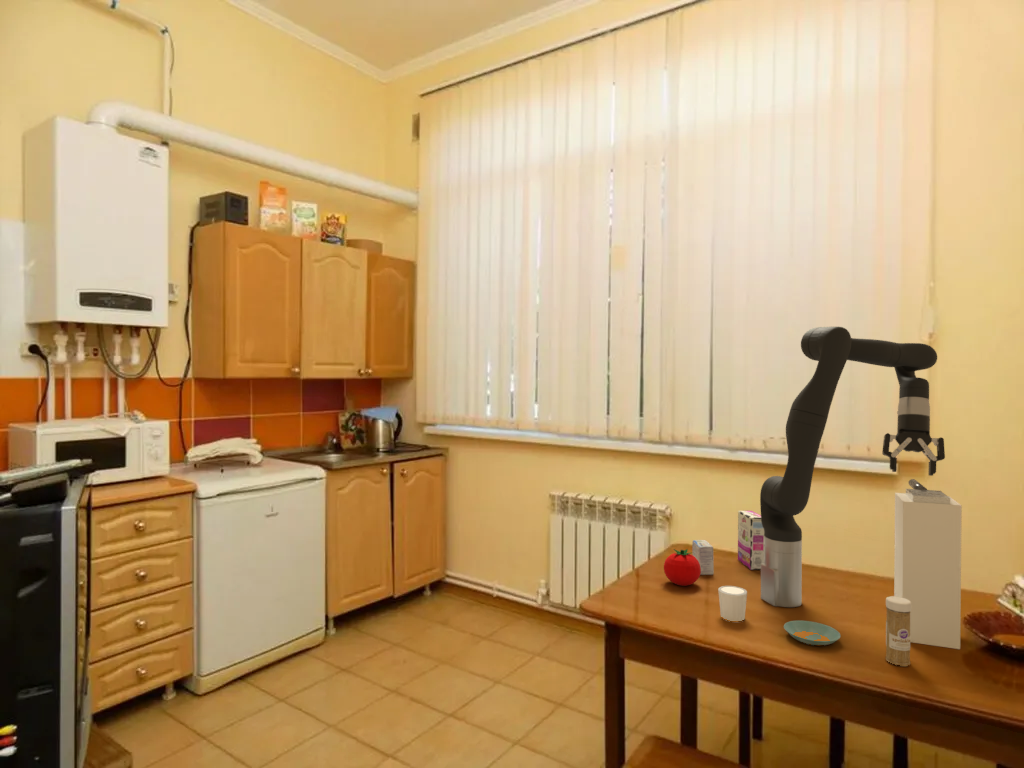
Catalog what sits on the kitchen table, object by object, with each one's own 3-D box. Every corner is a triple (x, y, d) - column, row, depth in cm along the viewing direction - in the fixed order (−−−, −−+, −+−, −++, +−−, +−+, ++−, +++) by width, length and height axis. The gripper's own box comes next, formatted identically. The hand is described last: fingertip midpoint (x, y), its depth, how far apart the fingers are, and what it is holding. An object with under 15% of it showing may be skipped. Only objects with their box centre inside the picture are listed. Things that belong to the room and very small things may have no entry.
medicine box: (713, 575, 188) (713, 546, 187) (699, 575, 188) (699, 546, 188) (706, 567, 195) (706, 539, 195) (692, 566, 196) (692, 539, 195)
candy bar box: (766, 570, 192) (766, 517, 191) (750, 570, 192) (750, 518, 191) (752, 559, 203) (752, 509, 202) (737, 559, 203) (737, 510, 202)
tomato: (657, 585, 179) (657, 550, 179) (673, 576, 187) (673, 543, 187) (691, 593, 172) (691, 557, 172) (706, 583, 180) (707, 549, 180)
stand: (960, 649, 137) (961, 505, 136) (902, 640, 141) (903, 501, 141) (947, 630, 147) (949, 496, 146) (894, 622, 151) (894, 492, 151)
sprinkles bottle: (897, 668, 128) (897, 604, 128) (880, 658, 133) (880, 596, 132) (916, 666, 129) (916, 602, 129) (898, 656, 134) (898, 594, 133)
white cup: (717, 621, 153) (717, 592, 153) (718, 610, 160) (718, 583, 159) (747, 624, 151) (747, 596, 151) (747, 614, 157) (747, 587, 157)
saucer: (791, 625, 151) (791, 615, 151) (845, 638, 143) (845, 628, 143) (777, 641, 142) (777, 631, 142) (833, 656, 134) (834, 646, 134)
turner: (950, 504, 138) (950, 495, 137) (913, 501, 140) (913, 492, 140) (929, 487, 157) (929, 480, 157) (897, 485, 160) (897, 478, 160)
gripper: (886, 410, 171) (884, 469, 168) (947, 414, 166) (947, 475, 163) (881, 415, 178) (880, 472, 175) (940, 419, 173) (940, 477, 170)
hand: (912, 473), depth 169 cm, fingers open, 8 cm apart
